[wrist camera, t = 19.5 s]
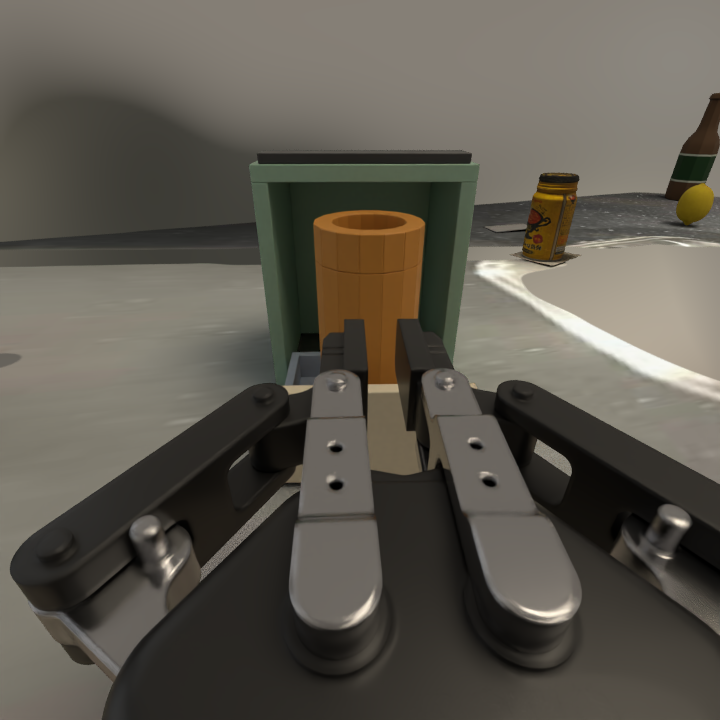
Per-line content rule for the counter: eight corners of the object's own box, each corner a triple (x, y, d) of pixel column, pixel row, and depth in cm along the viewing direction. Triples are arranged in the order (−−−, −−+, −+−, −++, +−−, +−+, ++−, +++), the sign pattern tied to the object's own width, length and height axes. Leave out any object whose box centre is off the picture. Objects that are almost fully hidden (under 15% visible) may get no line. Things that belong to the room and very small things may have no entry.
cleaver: (483, 230, 83) (494, 235, 78) (483, 223, 82) (495, 228, 78) (543, 224, 85) (558, 229, 80) (544, 217, 84) (559, 222, 80)
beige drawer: (274, 483, 24) (261, 393, 21) (295, 381, 34) (288, 308, 30) (463, 480, 25) (479, 390, 21) (431, 379, 34) (438, 306, 31)
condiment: (509, 255, 65) (524, 173, 59) (539, 247, 70) (557, 169, 63) (551, 267, 60) (573, 178, 54) (581, 257, 65) (604, 174, 58)
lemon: (709, 226, 83) (727, 184, 79) (692, 229, 81) (709, 185, 77) (680, 221, 87) (696, 180, 83) (664, 223, 85) (679, 182, 81)
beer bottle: (698, 198, 112) (740, 93, 100) (698, 202, 106) (743, 92, 94) (664, 195, 116) (700, 94, 103) (663, 199, 110) (701, 92, 98)
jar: (321, 439, 26) (309, 234, 20) (326, 387, 32) (317, 210, 25) (414, 438, 26) (433, 233, 20) (404, 386, 32) (415, 209, 25)
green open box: (276, 390, 33) (247, 153, 24) (292, 329, 43) (275, 143, 34) (449, 387, 33) (481, 153, 25) (426, 328, 43) (444, 143, 34)
